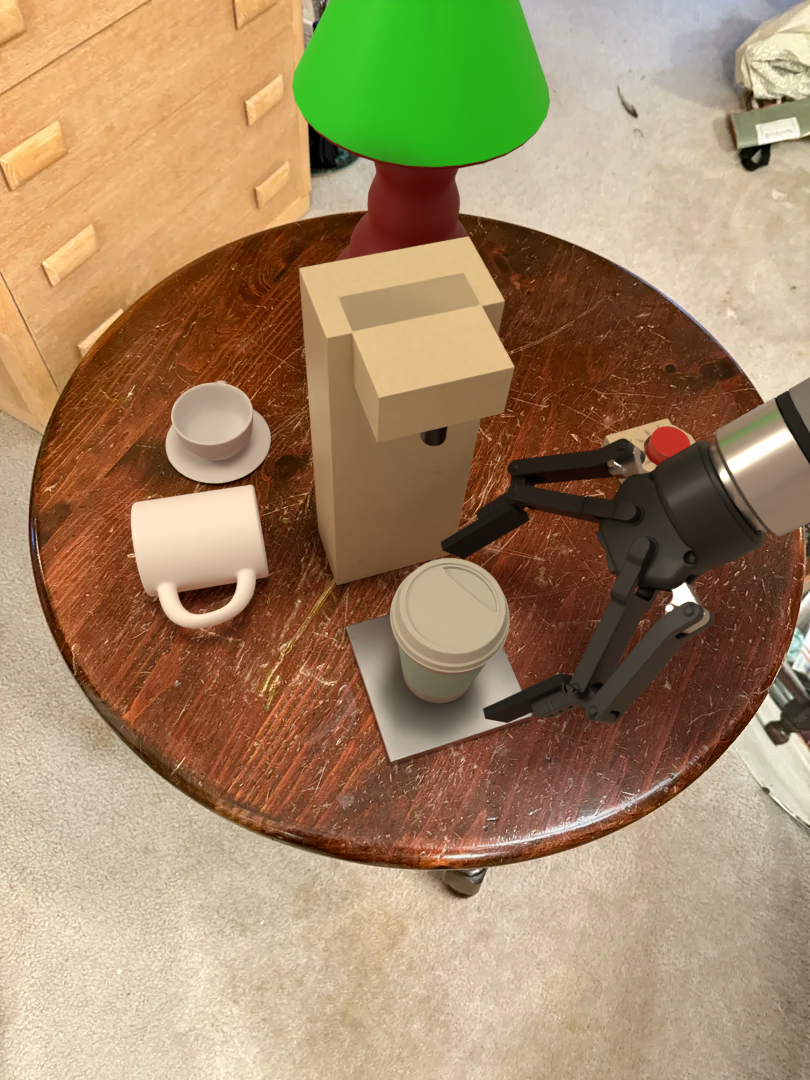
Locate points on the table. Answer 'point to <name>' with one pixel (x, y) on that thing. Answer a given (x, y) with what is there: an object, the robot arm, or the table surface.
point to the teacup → (216, 434)
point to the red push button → (666, 443)
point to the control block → (642, 439)
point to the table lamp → (420, 104)
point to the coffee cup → (447, 626)
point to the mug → (199, 549)
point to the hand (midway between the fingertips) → (471, 629)
